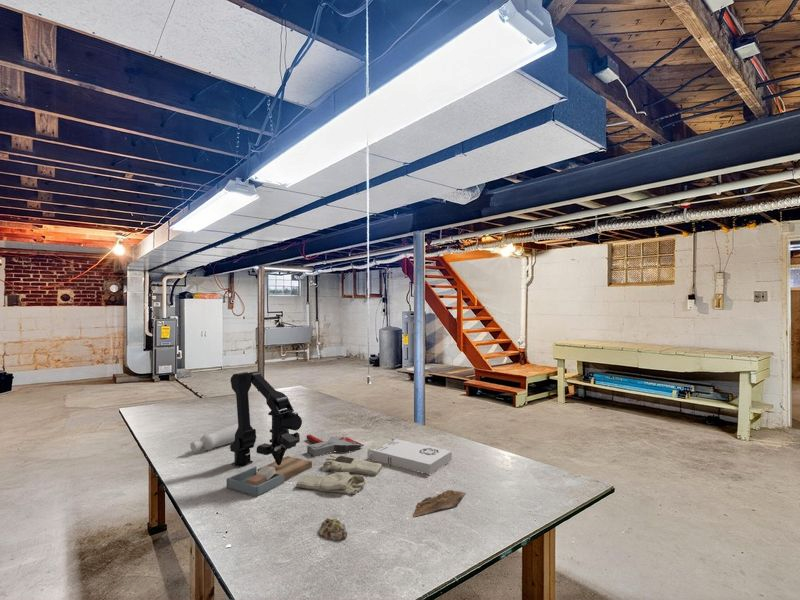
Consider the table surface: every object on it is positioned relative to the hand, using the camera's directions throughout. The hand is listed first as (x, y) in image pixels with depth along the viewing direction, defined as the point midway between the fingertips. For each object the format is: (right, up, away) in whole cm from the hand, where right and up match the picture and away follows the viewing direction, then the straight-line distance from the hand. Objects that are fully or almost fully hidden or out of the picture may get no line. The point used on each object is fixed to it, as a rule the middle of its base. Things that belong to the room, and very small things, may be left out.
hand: (278, 465), depth 167 cm
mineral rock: (+30, -3, -44) cm, 53 cm away
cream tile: (-3, -2, -6) cm, 7 cm away
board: (+2, -4, +3) cm, 5 cm away
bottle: (-40, -5, +36) cm, 54 cm away
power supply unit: (+54, -5, +15) cm, 56 cm away
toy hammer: (+13, -5, +35) cm, 38 cm away
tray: (-6, -4, -11) cm, 13 cm away
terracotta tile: (-5, -3, -11) cm, 13 cm away
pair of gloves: (+26, -4, -4) cm, 27 cm away
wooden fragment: (+63, -3, -26) cm, 69 cm away
